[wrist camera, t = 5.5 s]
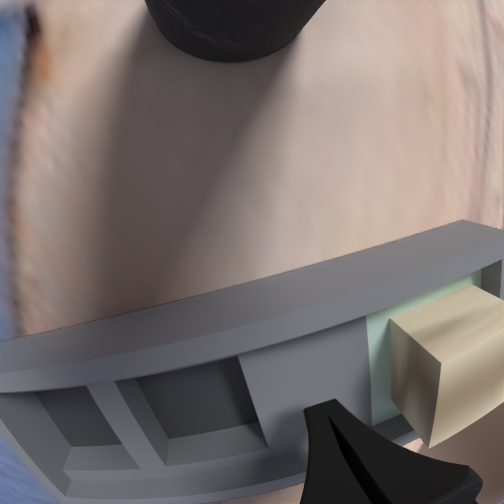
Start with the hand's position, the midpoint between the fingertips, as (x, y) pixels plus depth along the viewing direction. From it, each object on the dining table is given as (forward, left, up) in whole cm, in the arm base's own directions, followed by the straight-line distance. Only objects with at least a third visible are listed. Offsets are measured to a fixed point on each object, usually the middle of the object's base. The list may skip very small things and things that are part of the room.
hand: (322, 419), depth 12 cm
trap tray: (0, +3, -4) cm, 5 cm away
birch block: (0, -7, -2) cm, 7 cm away
